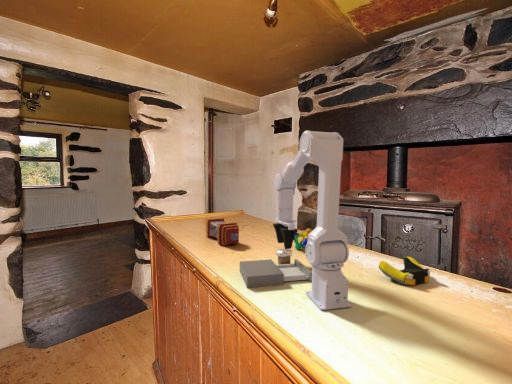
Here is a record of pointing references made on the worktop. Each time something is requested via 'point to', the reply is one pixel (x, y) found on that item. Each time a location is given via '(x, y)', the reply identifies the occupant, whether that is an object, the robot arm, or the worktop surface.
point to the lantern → (222, 231)
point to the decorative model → (305, 239)
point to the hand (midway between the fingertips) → (284, 245)
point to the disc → (284, 252)
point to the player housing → (261, 273)
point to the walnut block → (283, 260)
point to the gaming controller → (406, 272)
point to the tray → (295, 271)
